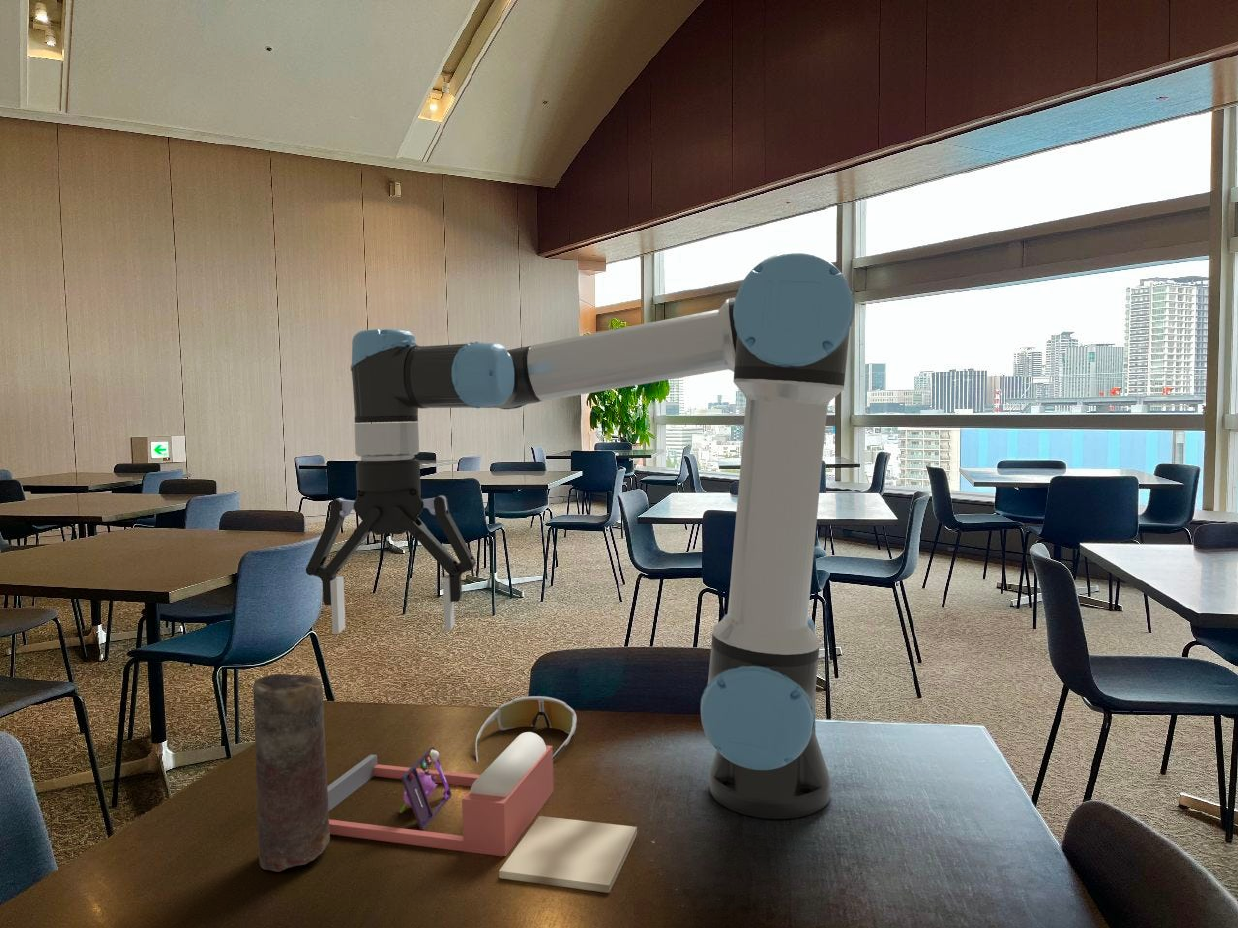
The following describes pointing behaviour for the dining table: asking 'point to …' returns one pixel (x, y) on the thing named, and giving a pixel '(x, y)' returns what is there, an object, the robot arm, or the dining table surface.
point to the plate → (570, 854)
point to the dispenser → (466, 800)
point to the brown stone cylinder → (290, 770)
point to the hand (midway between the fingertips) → (394, 629)
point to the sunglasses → (534, 716)
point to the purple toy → (423, 788)
